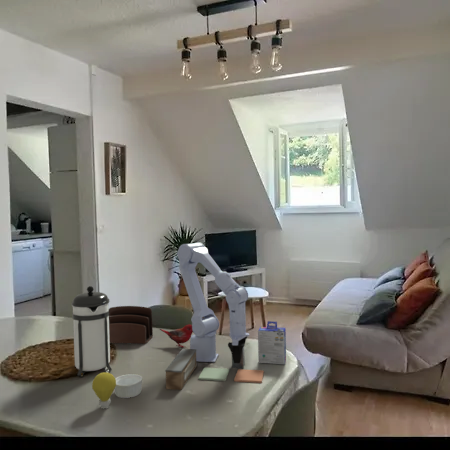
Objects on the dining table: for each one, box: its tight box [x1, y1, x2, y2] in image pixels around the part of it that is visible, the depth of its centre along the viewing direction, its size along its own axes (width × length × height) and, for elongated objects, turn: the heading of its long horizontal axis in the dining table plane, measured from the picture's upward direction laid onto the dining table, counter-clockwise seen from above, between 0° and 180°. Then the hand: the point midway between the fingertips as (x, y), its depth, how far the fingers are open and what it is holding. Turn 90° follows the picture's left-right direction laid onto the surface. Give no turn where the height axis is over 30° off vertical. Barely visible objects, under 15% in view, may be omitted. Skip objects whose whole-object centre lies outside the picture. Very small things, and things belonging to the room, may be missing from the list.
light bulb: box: [91, 371, 116, 409], centre depth 124 cm, size 7×7×10 cm
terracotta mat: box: [233, 368, 265, 384], centre depth 144 cm, size 9×9×1 cm
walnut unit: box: [164, 348, 197, 391], centre depth 145 cm, size 6×20×6 cm, turn 170°
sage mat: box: [197, 367, 230, 382], centre depth 146 cm, size 9×9×1 cm
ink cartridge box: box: [257, 320, 287, 365], centre depth 158 cm, size 10×6×14 cm, turn 78°
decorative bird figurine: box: [159, 323, 193, 349], centre depth 176 cm, size 3×18×10 cm, turn 61°
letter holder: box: [108, 305, 154, 345], centre depth 186 cm, size 10×20×14 cm, turn 83°
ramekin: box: [114, 373, 143, 399], centre depth 134 cm, size 9×9×4 cm
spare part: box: [231, 343, 246, 369], centre depth 154 cm, size 4×4×8 cm
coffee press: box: [71, 285, 112, 378], centre depth 153 cm, size 17×16×30 cm
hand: (238, 358), depth 154 cm, fingers open, 7 cm apart
